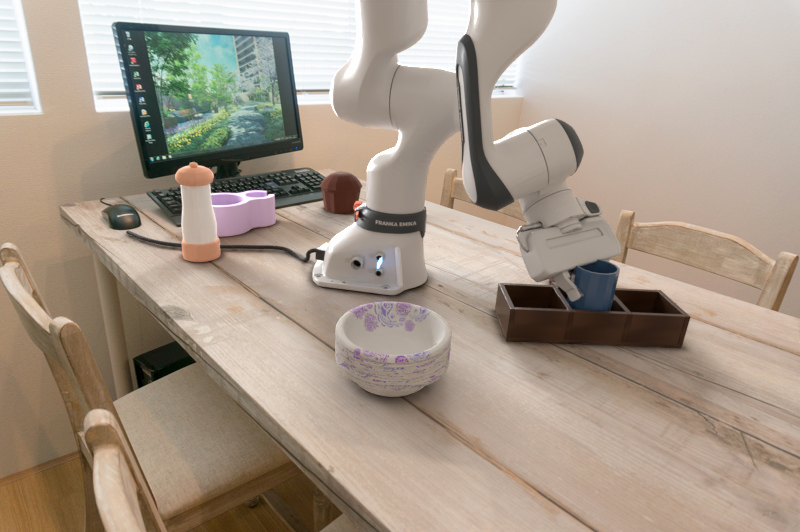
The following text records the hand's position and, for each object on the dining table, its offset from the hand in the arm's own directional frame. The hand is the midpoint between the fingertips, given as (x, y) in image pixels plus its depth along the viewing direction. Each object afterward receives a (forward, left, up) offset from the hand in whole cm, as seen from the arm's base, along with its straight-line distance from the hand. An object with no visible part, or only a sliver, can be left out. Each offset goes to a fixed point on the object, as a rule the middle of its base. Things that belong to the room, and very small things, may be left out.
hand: (594, 293), depth 85 cm
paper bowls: (-32, -15, -7) cm, 36 cm away
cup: (0, +1, -5) cm, 5 cm away
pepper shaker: (-71, +26, -7) cm, 76 cm away
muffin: (-46, +65, -7) cm, 80 cm away
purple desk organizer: (-70, +46, -7) cm, 84 cm away
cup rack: (0, +1, -7) cm, 7 cm away
